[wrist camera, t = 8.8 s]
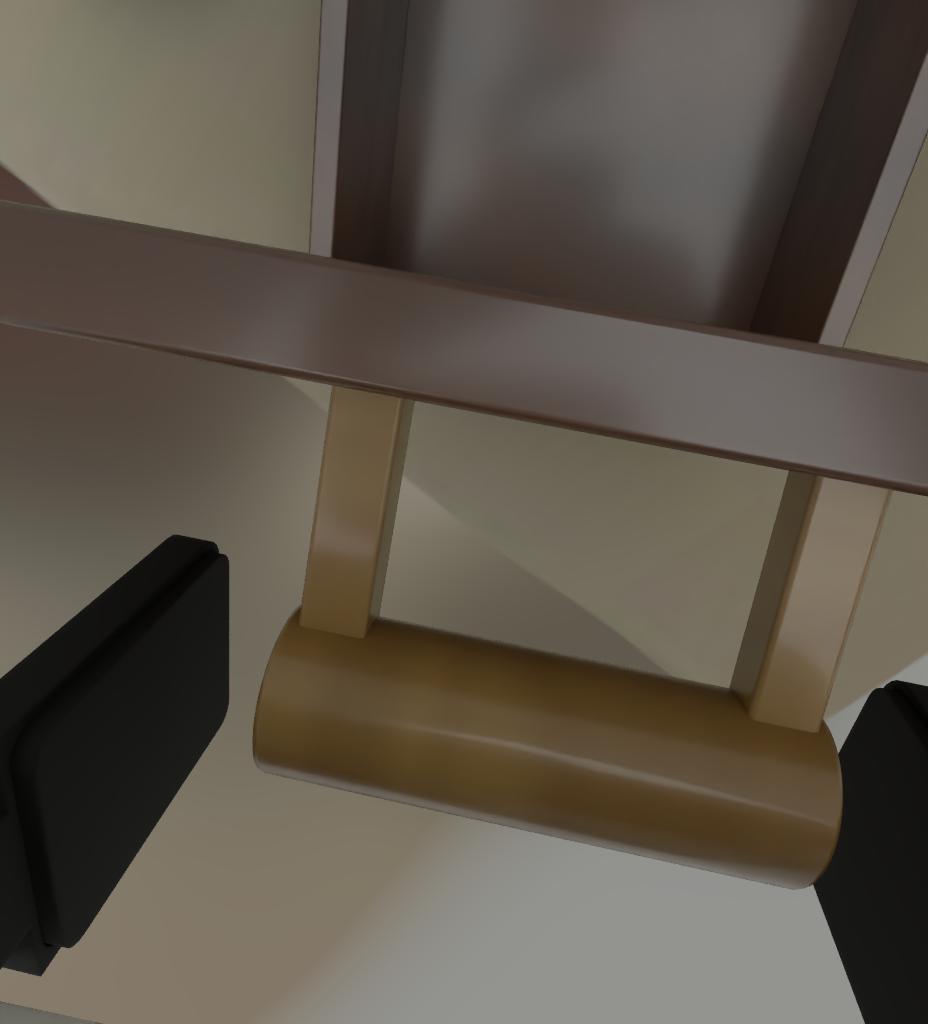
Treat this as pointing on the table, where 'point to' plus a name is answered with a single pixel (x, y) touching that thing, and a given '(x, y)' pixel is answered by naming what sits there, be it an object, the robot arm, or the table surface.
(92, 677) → the robot arm
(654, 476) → the table surface
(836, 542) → the lid
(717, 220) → the chest
